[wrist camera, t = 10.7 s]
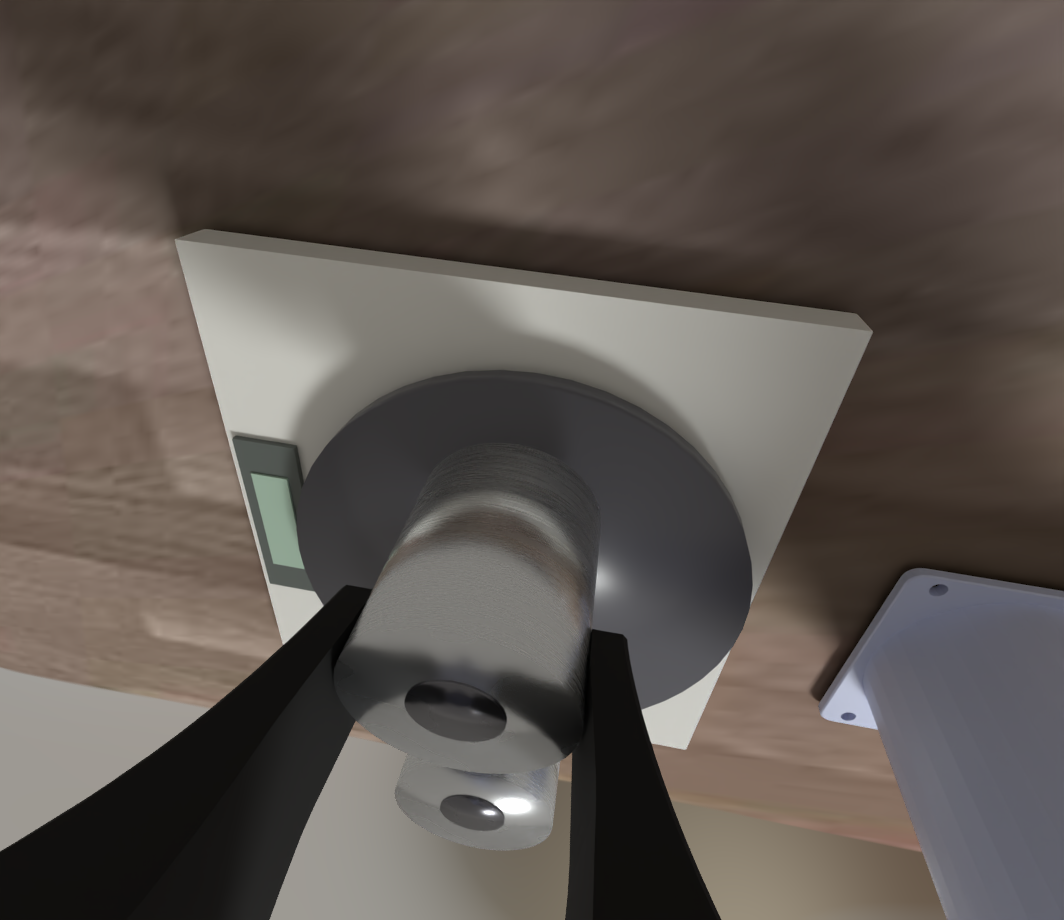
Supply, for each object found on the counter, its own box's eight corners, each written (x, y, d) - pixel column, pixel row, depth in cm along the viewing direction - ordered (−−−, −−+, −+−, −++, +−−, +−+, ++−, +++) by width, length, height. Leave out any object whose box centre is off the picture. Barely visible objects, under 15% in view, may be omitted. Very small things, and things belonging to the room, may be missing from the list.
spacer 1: (605, 449, 12) (585, 651, 8) (598, 587, 15) (580, 792, 11) (409, 436, 13) (301, 618, 9) (435, 571, 15) (361, 759, 11)
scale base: (857, 313, 14) (879, 338, 12) (684, 722, 24) (686, 759, 23) (204, 228, 15) (163, 243, 14) (303, 649, 25) (285, 679, 24)
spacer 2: (575, 625, 18) (555, 788, 14) (567, 705, 21) (548, 864, 16) (441, 606, 19) (384, 758, 14) (449, 686, 21) (402, 836, 17)
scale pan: (822, 413, 14) (831, 431, 13) (685, 731, 22) (687, 751, 21) (273, 334, 15) (256, 346, 14) (335, 662, 23) (326, 680, 22)
